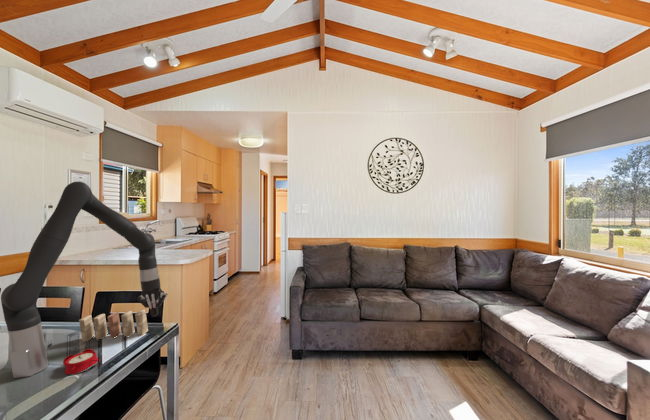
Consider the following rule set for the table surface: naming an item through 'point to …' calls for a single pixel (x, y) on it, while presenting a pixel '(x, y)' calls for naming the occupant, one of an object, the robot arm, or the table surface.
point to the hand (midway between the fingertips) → (154, 315)
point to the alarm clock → (80, 361)
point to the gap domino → (114, 324)
